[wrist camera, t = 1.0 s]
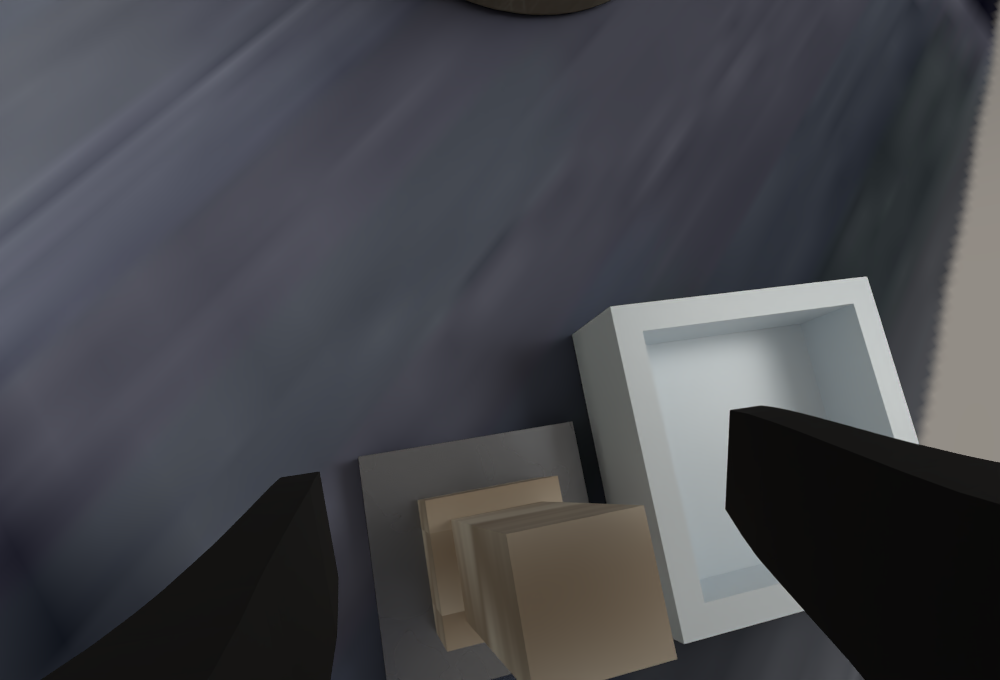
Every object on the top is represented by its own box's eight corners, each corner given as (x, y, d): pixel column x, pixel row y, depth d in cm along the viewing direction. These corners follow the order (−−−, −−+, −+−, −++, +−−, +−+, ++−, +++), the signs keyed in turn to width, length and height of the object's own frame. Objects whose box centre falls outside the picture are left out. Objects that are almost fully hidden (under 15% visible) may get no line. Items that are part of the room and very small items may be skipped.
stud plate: (608, 640, 23) (643, 660, 20) (389, 698, 21) (393, 730, 18) (565, 423, 24) (592, 414, 21) (358, 458, 22) (358, 453, 19)
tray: (869, 557, 26) (957, 568, 22) (630, 619, 23) (684, 644, 19) (797, 305, 28) (866, 276, 24) (571, 334, 25) (610, 306, 21)
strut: (559, 603, 22) (716, 687, 12) (436, 633, 21) (504, 752, 11) (536, 477, 23) (666, 466, 13) (417, 499, 22) (465, 504, 12)
